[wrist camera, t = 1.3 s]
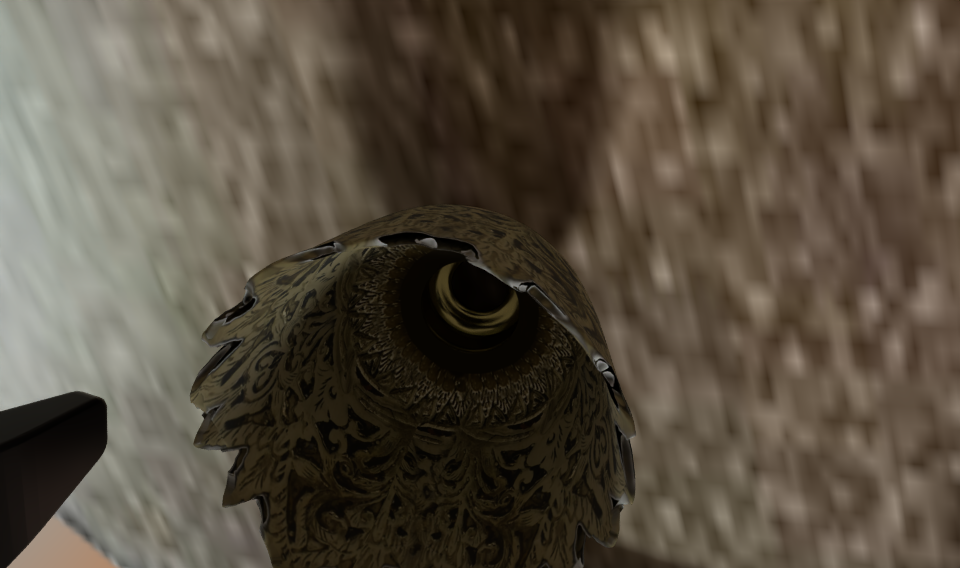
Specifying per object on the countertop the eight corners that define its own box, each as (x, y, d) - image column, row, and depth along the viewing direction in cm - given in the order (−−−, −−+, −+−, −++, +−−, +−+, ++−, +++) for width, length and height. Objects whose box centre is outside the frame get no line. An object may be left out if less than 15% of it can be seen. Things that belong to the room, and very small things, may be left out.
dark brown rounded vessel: (346, 366, 19) (190, 572, 11) (365, 128, 16) (172, 200, 8) (581, 420, 18) (578, 678, 11) (646, 182, 15) (702, 311, 8)
